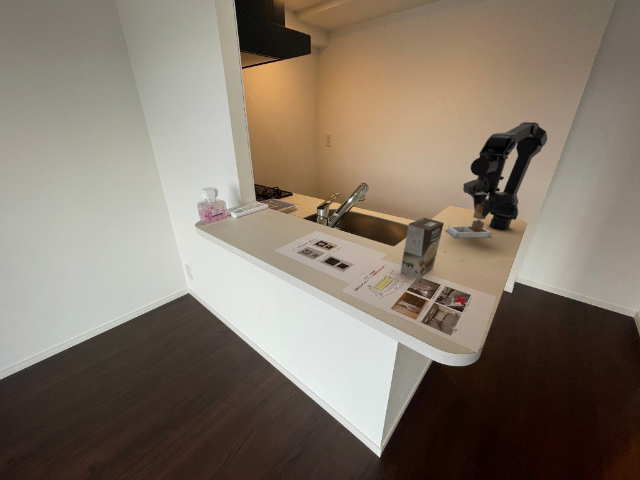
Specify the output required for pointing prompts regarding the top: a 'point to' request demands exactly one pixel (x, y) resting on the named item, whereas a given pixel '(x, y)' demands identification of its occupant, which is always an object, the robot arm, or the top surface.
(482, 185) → the robot arm
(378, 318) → the top surface
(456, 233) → the housing
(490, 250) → the top surface
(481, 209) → the brown cylinder
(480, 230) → the brown housed cylinder
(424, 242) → the coffee box
